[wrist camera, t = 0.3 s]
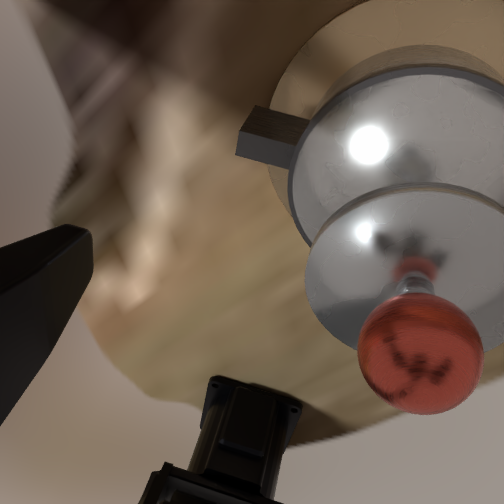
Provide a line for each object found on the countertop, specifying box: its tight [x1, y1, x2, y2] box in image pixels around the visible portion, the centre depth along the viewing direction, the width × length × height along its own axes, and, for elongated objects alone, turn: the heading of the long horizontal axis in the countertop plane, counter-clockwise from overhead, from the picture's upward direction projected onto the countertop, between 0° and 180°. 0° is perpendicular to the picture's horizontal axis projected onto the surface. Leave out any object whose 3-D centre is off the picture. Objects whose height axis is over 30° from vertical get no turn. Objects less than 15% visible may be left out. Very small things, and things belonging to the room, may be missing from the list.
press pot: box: [235, 0, 504, 248], centre depth 18 cm, size 12×12×4 cm
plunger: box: [305, 182, 504, 415], centre depth 12 cm, size 6×6×4 cm
